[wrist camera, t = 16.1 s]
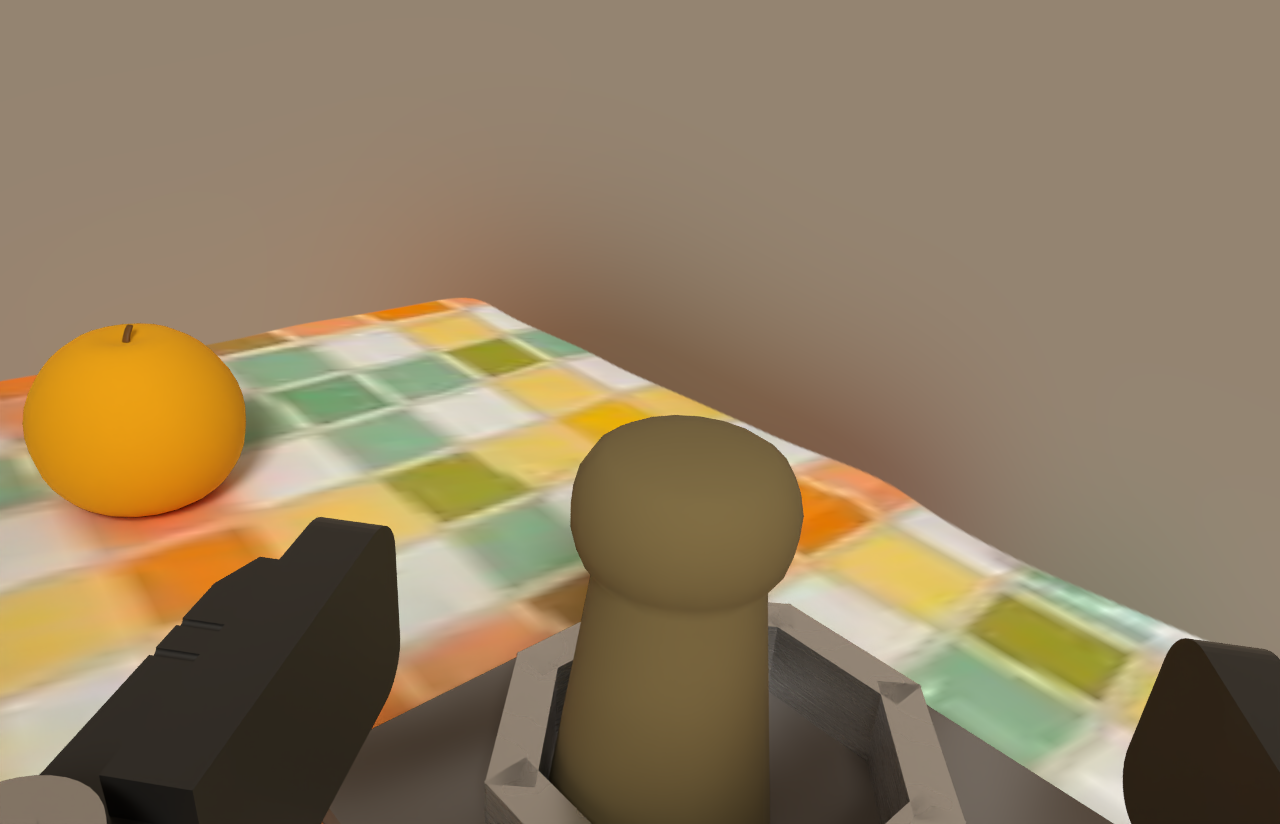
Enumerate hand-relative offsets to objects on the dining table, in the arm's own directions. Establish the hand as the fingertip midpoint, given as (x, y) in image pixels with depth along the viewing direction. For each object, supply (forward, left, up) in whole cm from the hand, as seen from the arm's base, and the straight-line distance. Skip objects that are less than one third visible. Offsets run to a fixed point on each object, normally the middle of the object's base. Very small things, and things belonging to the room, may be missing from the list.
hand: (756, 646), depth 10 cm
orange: (-34, +2, -15) cm, 37 cm away
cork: (-7, +7, -14) cm, 17 cm away
